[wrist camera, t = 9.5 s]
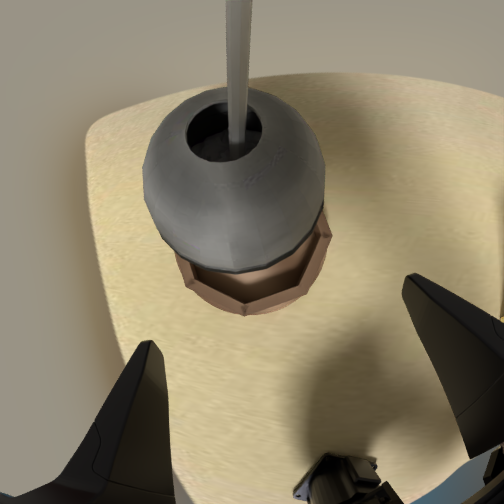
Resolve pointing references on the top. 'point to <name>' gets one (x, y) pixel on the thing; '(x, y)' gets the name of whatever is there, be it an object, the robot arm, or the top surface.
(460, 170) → the top surface
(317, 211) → the beverage cup
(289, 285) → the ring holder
